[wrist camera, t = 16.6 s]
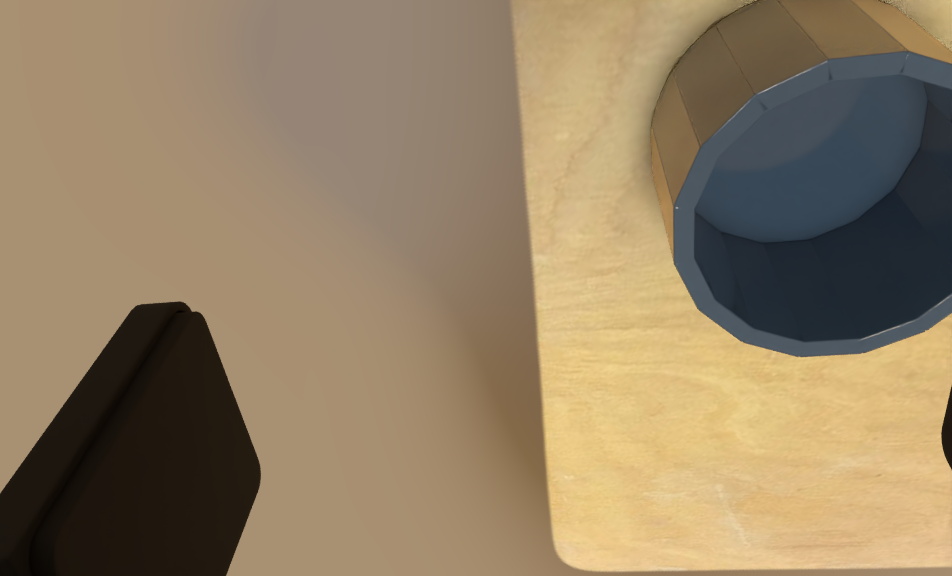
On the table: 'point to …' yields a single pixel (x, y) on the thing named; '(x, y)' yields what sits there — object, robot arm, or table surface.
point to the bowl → (811, 175)
